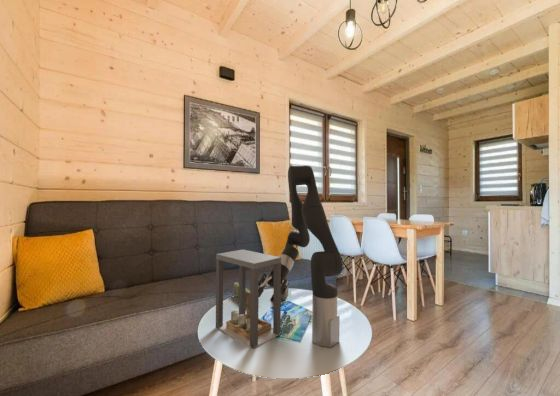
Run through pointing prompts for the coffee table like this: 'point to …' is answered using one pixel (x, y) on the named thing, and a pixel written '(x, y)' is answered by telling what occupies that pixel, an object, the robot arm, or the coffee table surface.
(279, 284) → the grey stool
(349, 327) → the coffee table surface
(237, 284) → the handheld radio
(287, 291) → the digital clock
